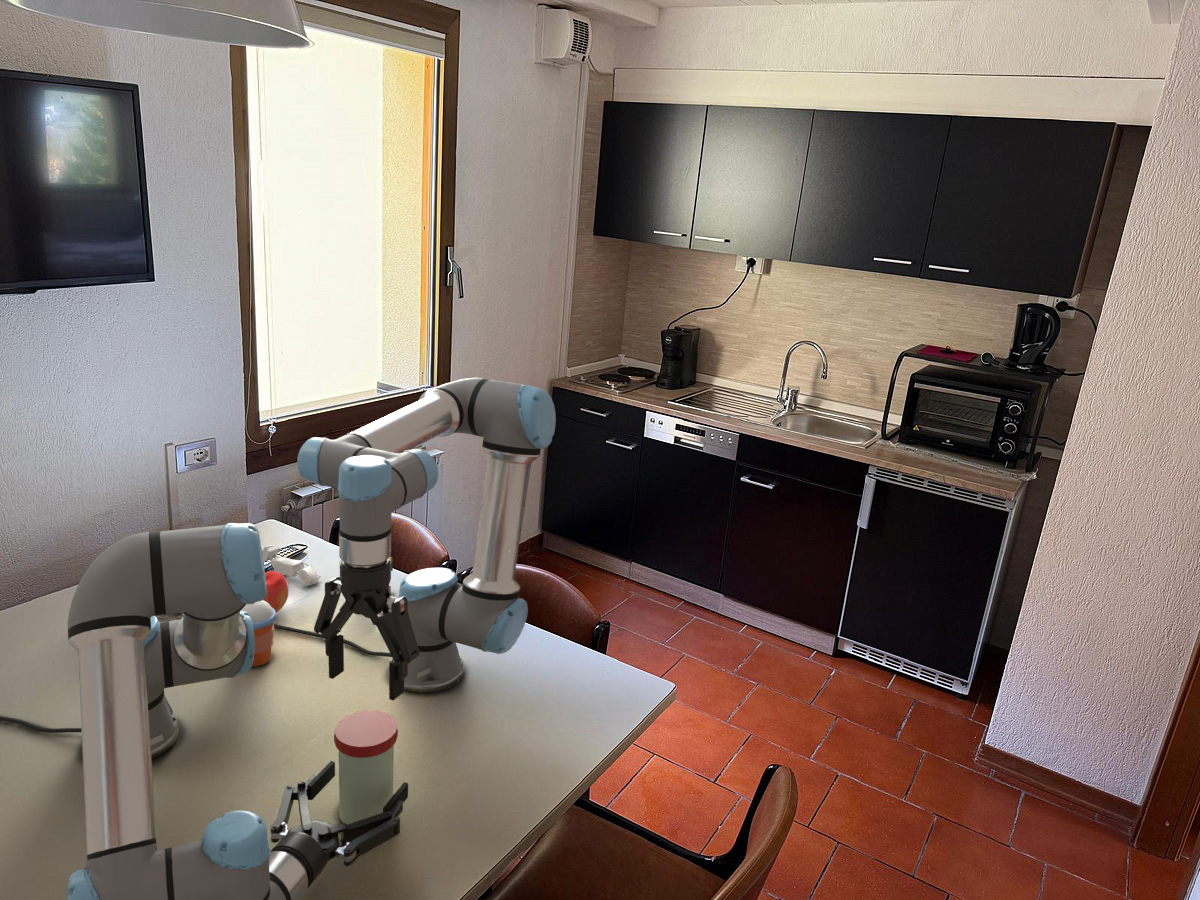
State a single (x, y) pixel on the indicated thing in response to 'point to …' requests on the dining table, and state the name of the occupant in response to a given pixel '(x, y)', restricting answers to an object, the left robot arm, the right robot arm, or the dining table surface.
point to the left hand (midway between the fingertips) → (369, 778)
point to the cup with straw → (262, 629)
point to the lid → (365, 733)
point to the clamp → (290, 566)
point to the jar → (364, 785)
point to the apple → (276, 590)
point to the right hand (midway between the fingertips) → (366, 685)
